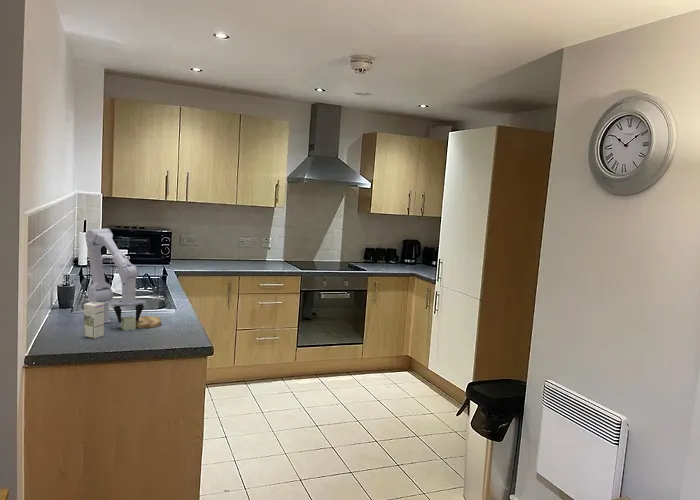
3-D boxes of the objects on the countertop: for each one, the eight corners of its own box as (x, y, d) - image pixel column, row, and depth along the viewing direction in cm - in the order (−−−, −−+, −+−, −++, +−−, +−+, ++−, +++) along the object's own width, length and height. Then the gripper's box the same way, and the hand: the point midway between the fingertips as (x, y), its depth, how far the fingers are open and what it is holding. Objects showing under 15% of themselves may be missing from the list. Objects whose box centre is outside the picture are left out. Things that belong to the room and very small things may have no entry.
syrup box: (104, 335, 232) (104, 302, 230) (93, 338, 226) (93, 305, 224) (93, 333, 233) (94, 301, 232) (83, 336, 228) (83, 303, 226)
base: (136, 329, 244) (136, 324, 244) (128, 322, 254) (128, 317, 254) (164, 326, 252) (164, 321, 251) (155, 320, 262) (156, 315, 262)
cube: (124, 330, 242) (124, 319, 241) (121, 327, 245) (121, 317, 245) (135, 329, 245) (135, 318, 244) (132, 326, 249) (132, 316, 248)
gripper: (114, 295, 236) (113, 325, 237) (147, 292, 244) (147, 321, 246) (110, 292, 241) (109, 321, 243) (143, 290, 250) (142, 318, 251)
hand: (128, 321), depth 245 cm, fingers open, 7 cm apart
